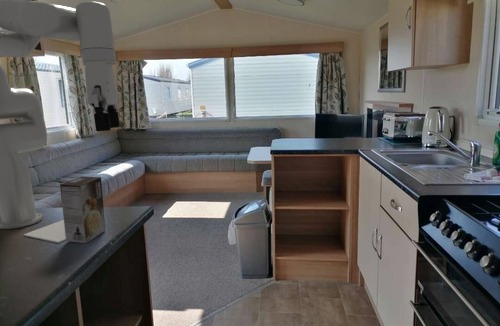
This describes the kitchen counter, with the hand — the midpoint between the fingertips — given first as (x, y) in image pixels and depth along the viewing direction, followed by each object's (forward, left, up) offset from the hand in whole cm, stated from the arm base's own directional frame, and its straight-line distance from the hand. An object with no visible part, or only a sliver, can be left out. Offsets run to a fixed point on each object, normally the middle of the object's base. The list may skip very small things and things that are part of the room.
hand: (108, 129), depth 91 cm
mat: (-24, 0, -30) cm, 39 cm away
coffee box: (-13, -1, -30) cm, 33 cm away
